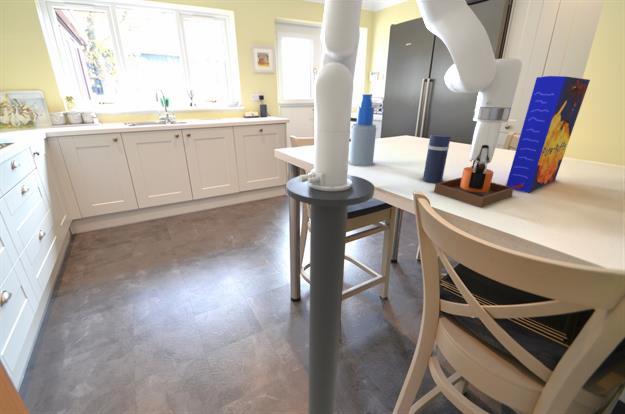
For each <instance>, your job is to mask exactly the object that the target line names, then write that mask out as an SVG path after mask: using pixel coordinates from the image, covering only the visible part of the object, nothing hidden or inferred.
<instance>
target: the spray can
mask: <svg viewBox="0 0 625 414" xmlns="http://www.w3.org/2000/svg"><path fill="white" fill-rule="evenodd" d="M450 142H451V135H449V134H441V133H432V134H431V133H430V135H429V141H428V144H427V145H428V146H427V153H426V159H425V165H424V171H423V175H422V180H423V181H424V182H426V183H431V184H436V183H440V182H443V177H444V173H445V168H446V163H447V157H448V153H449V148H450Z"/></svg>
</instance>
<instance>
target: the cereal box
mask: <svg viewBox="0 0 625 414" xmlns="http://www.w3.org/2000/svg"><path fill="white" fill-rule="evenodd" d="M590 81H591V79H587V78H580V77H571V76H561V75H546V76H538V77H536V79H535V81H534V82H535V83H534V86H533V89H532V93H531V95H530V96H531V97H530V99H529V103H528V107H527V110H526V114H525V117H524V121H523V125H522V128H521V131H520V136H519V139H518V141H517V142H518V143H517V146H516V150H515V153H514V156H513V160H512V164H511V167H510V171H509V174H508V178H507V181H506V184H505V186H508V187H512V188H514V190H513V191H518V192H523V193H527V194H530V193H533V192H535V191H536V190H538V189H540V188H542V187H544V186H547V185H549V184H551V183H553V182H555V181H556V179H557V176H558V173H559V170H560V167H561V165H562V161H563V159H564V157H565V153H566V150H567V147H568V144H569V141H570V139H571V136H572V133H573V131H574V127H575V124H576V121H577V119H578V116H579V114H580V110H581V107H582V104H583V101H584V98H585V96H586V93H587V90H588V87H589V84H590Z"/></svg>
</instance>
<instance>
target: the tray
mask: <svg viewBox="0 0 625 414" xmlns="http://www.w3.org/2000/svg"><path fill="white" fill-rule="evenodd" d="M461 179H462V176H461V177H457V178H453V179H449V180H444V181H442V182H440V183H434V188H433V193H435V194H437V195H440V196H445V197H448V198H451V199H454V200H457V201H460V202H463V203H465V204H469V205H472V206H475V207H478V208H484V207H486V206H490V205H492V204H494V203H497V202H500V201H503V200H506V199H510V198H512V196H513V193H514V191H515V190H514V188H512V187H508V186H506V185H504V184H500V183H495V182H492V181H491V185H490V188H489V191H488V192H473V191H468V190H465V189H462V188H461V187H460V184H461Z"/></svg>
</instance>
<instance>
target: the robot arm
mask: <svg viewBox="0 0 625 414" xmlns="http://www.w3.org/2000/svg"><path fill="white" fill-rule="evenodd" d="M416 3H417V5H418V8H419V11H420V14H421V17H422V19H423V22H424V24H425V27H426V28H427V30H428V31H429V32H430V33H432V34H433V35H435V36H436V37H438V38H439V39H440V40H441V41H442V42H443V43H444V45H445V47H446V48H447V50H448V52H449V54H450V56H451V58H452V61H453V64H452V65H450V66H449V68H448V69H447V71H446V72H445V75H444V83H445V86H446V88H447V89H448V90H449V91H451V92H453V93H456V94H474V93H478V95H477V98H476V104H475V108H474V113H473V117H472V121H473V122H476V124H475V127H474V132H473V136H472V141H471V145H470V150H469V154H468V161H469V162H472V165H471V166H470V167H474V169H473V172H472V173H471V177H470V182H469V188H476V189H482V188H483V184H484V180H485V176H486V174H485V173H486V169H488V164H490V163H491V162H492V160H493V157H494V153H495V151H496V147H497V145H498V144H497V143H498V140H499V136H500V131H501V128H502V124H505V123H509V118H510V115H511V111H512V106H513V103H514V100H515V95H516V91H517V87H518V84H519V79H520V76H521V71H522V67H523V62H522V60H521V59H519V58H509V57H508V58H496V56H495V53H494V49H493V46H492V43H491V41H490V37H489V34H488V33H487V30H486V28H485V27H484V25H483V23H482V22H481V20H480V19H479V18H478V16H477V15H476V14H475V12H474V11H473V9H472V8H471V7H470V6H469V5H468V3H467V1H466V0H416ZM362 6H363V0H324V8H323V16H322V17H323V18H322V25H321V31H320V42H321V45H322V51H321V62H320V68H319V70H318V72H317V73H316V75H315V79H314V83H313V102H314V103H313V104H314V139H313V140H314V141H313V142H314V143H313V147H314V148H313V155H314V156H313V169H310V172H309V173H308V175H307V174H299V175H298V176H299V181H300V182H306V181H308V185H309V186H310V187H311V188H313V189H316V190H321V191H333V192H334V191H343V190H347V189H349V188H351V187H352V181H351V180H350V179H348V178H347V175H348V171H349V156H350V153H349V152H350V140H351V119H352V105H353V93H354V77H355V71H356V64H357V56H358V50H359V42H360V35H361V34H360V22H361V12H362Z"/></svg>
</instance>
